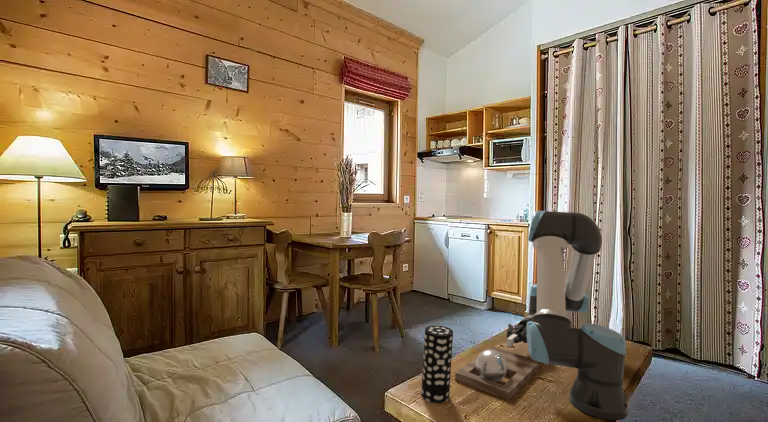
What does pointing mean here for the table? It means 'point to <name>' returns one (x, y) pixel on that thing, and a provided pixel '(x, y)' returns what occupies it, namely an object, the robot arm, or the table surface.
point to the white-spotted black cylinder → (437, 364)
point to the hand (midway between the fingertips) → (508, 342)
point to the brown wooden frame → (516, 369)
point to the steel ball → (491, 365)
